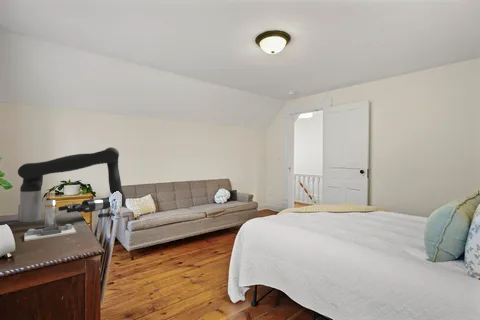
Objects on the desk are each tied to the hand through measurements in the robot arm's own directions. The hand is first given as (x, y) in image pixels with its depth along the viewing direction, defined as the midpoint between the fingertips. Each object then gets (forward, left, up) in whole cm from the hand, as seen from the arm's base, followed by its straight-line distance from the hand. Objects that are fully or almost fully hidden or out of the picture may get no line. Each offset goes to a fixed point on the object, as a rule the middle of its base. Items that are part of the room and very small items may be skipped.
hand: (62, 209), depth 134 cm
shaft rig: (+8, -16, -8) cm, 20 cm away
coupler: (-2, -5, -8) cm, 10 cm away
